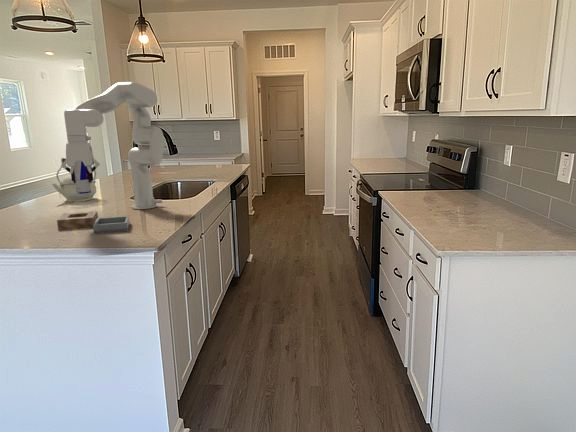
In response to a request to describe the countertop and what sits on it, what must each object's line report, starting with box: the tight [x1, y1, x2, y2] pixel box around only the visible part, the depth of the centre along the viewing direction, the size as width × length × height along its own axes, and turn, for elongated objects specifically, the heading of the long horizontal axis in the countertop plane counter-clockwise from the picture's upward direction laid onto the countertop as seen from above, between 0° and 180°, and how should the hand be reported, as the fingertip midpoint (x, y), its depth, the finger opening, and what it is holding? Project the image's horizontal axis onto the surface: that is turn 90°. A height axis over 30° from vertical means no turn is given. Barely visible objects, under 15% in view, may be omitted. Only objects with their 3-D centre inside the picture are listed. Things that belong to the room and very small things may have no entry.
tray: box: [92, 215, 130, 234], centre depth 171 cm, size 13×13×4 cm
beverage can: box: [74, 161, 91, 195], centre depth 173 cm, size 6×6×15 cm
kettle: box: [51, 157, 97, 203], centre depth 233 cm, size 25×18×25 cm
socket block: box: [56, 210, 99, 230], centre depth 179 cm, size 14×14×4 cm
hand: (82, 181), depth 173 cm, fingers closed on beverage can, 5 cm apart
